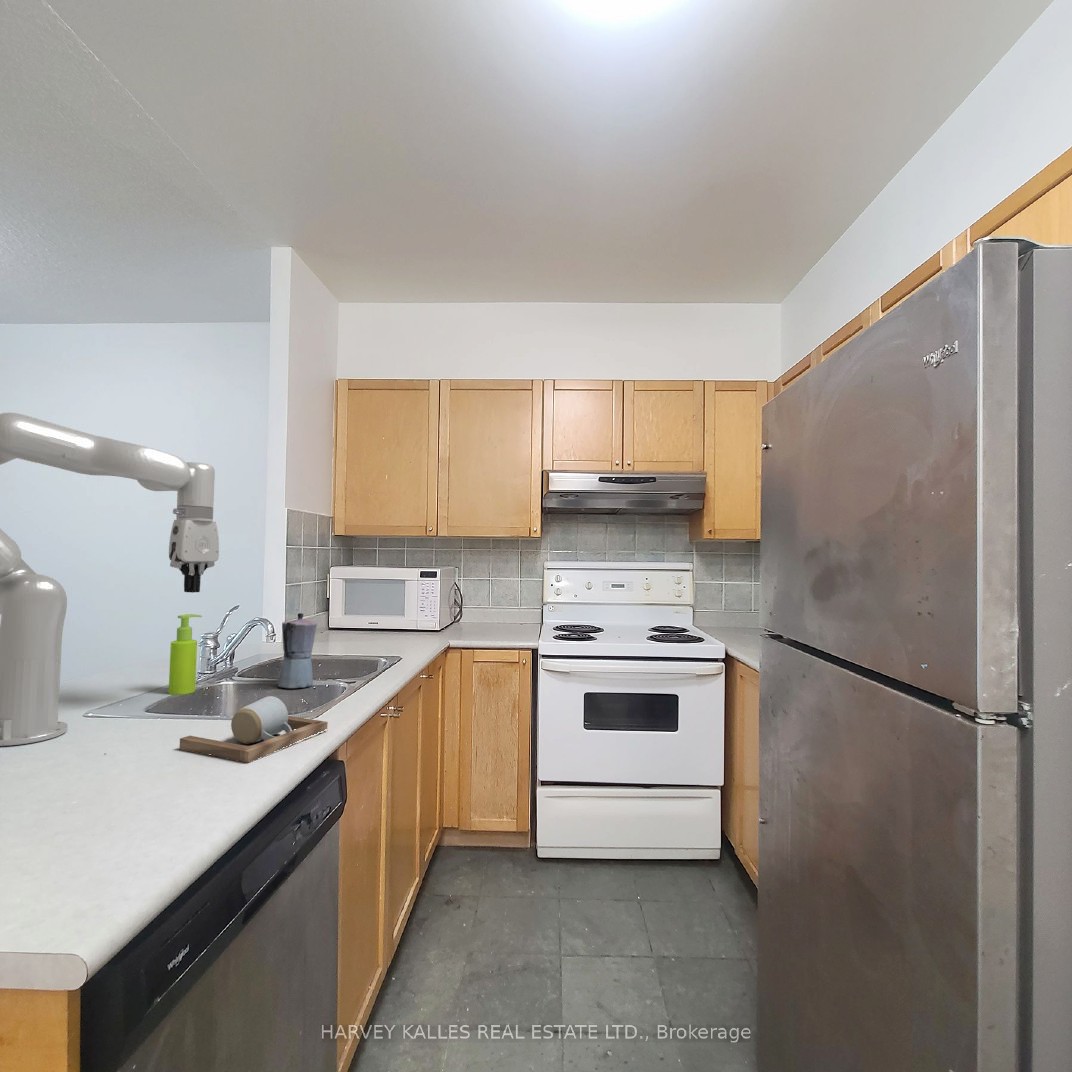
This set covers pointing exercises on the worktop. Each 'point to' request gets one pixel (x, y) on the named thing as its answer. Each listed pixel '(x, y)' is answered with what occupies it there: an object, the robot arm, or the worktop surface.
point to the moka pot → (297, 653)
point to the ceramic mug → (260, 720)
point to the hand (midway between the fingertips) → (191, 591)
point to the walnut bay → (258, 750)
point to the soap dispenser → (183, 659)
